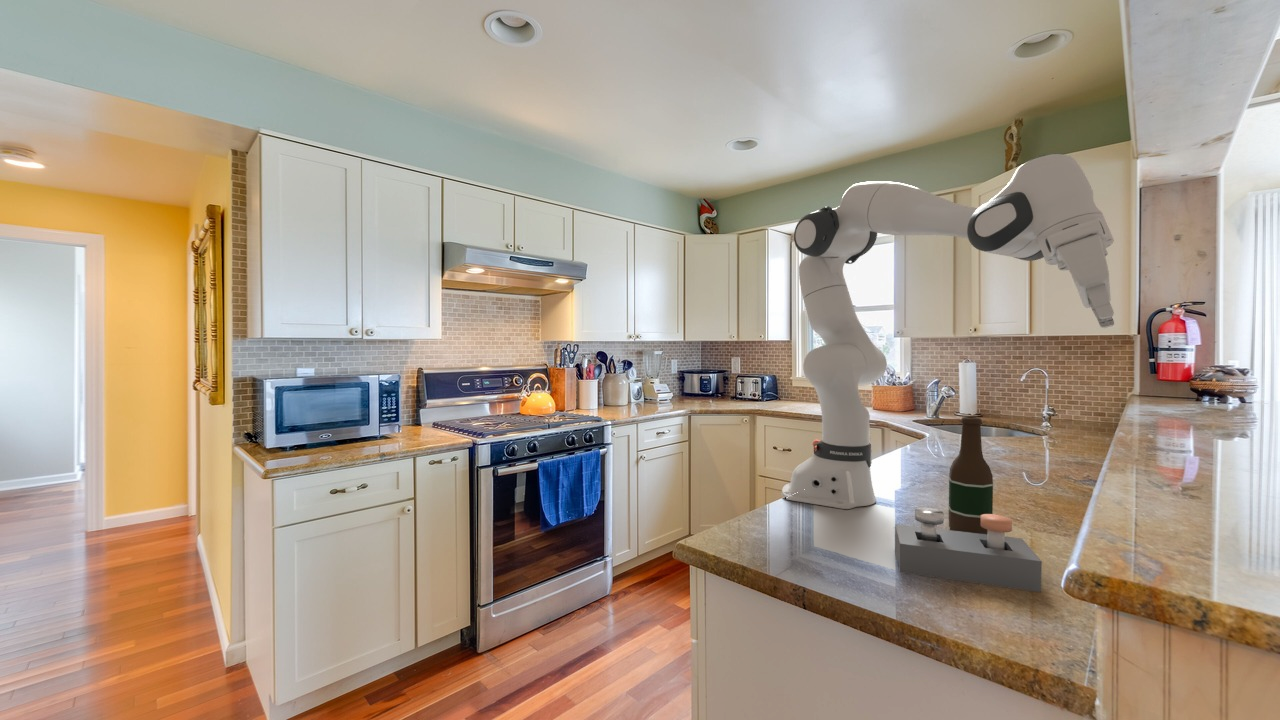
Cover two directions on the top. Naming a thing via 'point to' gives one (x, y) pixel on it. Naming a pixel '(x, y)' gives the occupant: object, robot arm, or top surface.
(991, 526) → the mushroom push button
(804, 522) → the top surface
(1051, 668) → the top surface
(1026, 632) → the top surface
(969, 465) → the beer bottle
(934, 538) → the grey mushroom plug
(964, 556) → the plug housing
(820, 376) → the robot arm
